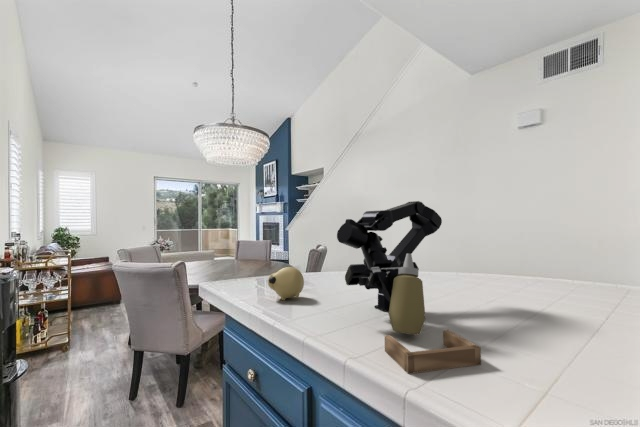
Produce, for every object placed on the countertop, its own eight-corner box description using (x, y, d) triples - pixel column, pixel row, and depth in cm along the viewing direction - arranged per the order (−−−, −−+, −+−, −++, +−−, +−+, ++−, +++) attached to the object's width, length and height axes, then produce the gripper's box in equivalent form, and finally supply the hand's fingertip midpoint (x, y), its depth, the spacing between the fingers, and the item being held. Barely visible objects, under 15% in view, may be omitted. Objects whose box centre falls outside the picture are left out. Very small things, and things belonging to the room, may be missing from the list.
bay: (384, 350, 60) (384, 335, 60) (448, 344, 63) (448, 329, 63) (408, 373, 51) (407, 355, 51) (480, 364, 54) (480, 347, 54)
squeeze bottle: (429, 336, 62) (430, 251, 69) (390, 330, 63) (394, 248, 70) (420, 335, 70) (422, 259, 76) (385, 330, 71) (389, 255, 77)
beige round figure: (272, 294, 106) (272, 264, 107) (305, 295, 105) (305, 264, 106) (264, 302, 97) (264, 268, 97) (301, 302, 96) (301, 269, 96)
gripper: (393, 267, 91) (414, 315, 80) (334, 270, 86) (348, 321, 75) (407, 243, 83) (432, 293, 73) (343, 245, 79) (360, 298, 68)
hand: (393, 302), depth 72 cm, fingers closed
